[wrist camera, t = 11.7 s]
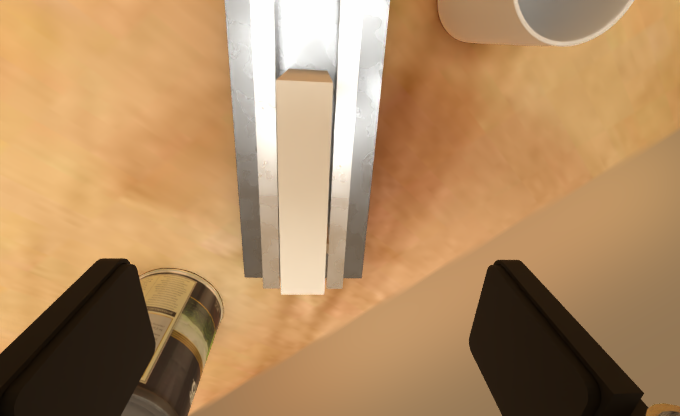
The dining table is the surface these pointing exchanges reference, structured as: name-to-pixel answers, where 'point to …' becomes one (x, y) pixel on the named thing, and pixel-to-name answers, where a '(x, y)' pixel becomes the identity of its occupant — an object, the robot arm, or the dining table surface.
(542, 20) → the mug
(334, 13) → the door track
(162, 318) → the coffee can
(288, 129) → the door panel
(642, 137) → the dining table surface
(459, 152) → the dining table surface
